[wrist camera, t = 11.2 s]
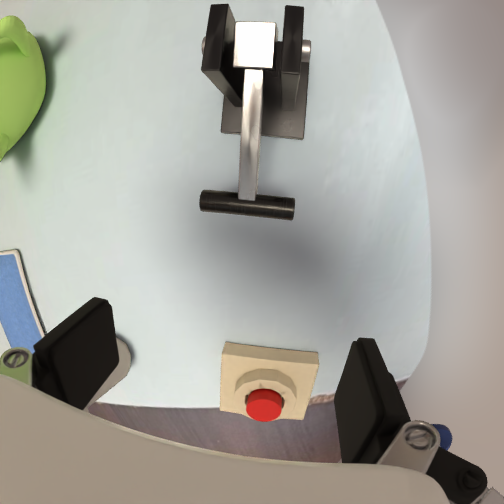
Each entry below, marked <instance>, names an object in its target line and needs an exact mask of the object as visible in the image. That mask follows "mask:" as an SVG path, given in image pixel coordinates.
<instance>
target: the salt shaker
mask: <svg viewBox="0 0 504 504" xmlns="http://www.w3.org/2000/svg"><path fill="white" fill-rule="evenodd" d="M116 340H117V346H118V352H119V364H118V366H117V367H116V368H115V370H114V371H113V372H112V373H111V375H110V376H109V377H108V379H107V380H106V381H105V382H104V384H103V385H102V386H101V388H100V389H99V390H98V392H97V393H96V394H95V395H94V397H93V398H92V399H91V401H90V402H89V403H88V405H87V406H86V407H85V409H84V410H83V411H85V412H87V413H89V411H88V407H89V406H90V405H91V404H93V403H94V402H95V401H96V400H98V399H99V398H100V397H101V396H103V395H104V394H105V393H106V392H107V391H109V390H110V389H111V388H112V387H114V386H115V385H116V384H117V383H118V382H120V381H121V380H122V379H123V378H125V377H126V376H127V374H128V372H129V369H130V365H131V354H130V352H129V349H128V347H127V344H126V343H124V342H123V341H121V340H120V339H118V338H117V337H116Z"/></svg>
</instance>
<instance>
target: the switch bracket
mask: <svg viewBox="0 0 504 504" xmlns="http://www.w3.org/2000/svg"><path fill="white" fill-rule="evenodd" d="M303 22H304V7H300V6H290V5H286V6H285V15H284V28H283V41H282V42H280V41H278V42H277V57H276V70H275V71H265V84H264V99H263V114H262V129H261V136H269V137H280V138H290V139H298V140H303V138H304V128H305V116H306V103H307V89H308V75H309V60H310V51H311V41H310V40H303ZM234 29H235V19H234V17H233V14H232V12H231V9H230V7H229V4H213V5H211V7H210V13H209V19H208V25H207V32H206V37H204V38H203V41H202V54H203V60H202V67H201V71H202V72H203V73H204V74H205V75H206V76H207V77H208V78H209V79H210V80H211V81H212V82H213V84H214V85H215V86H216V87H217V88H218V89H219V90H220V91H221V92H222V93H223V94H224V102H223V112H222V123H221V132H222V133H225V134H241V121H242V101H243V83H244V70H240V69H237V68H235V67H233V66H232V62H233V45H234Z"/></svg>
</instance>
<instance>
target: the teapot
mask: <svg viewBox="0 0 504 504" xmlns="http://www.w3.org/2000/svg"><path fill="white" fill-rule="evenodd" d="M45 89H46V75H45V66H44V61H43V57H42V53H41V50H40V47H39V45H38V43H37V41H36V39H35V37H34V36H33V35H32V34H31V33H30V32H27V30H26V27H25V25H24V23H23V22H22V21H21V20H20V19H19V18H18V17H16V16H7V17H4V18H3V19H1V20H0V162H1V160H2V158H3V156H4V155H5V153H6V152H7V151H8V150H9V149H11V148H12V147H13V146H14V145H15V144H16V142H17V141H18V140H19V139H20V138H21V137H22V136H23V135H24V133H25V132H26V130H27V129H28V127H29V126H30V124H31V123H32V121H33V120H34V118H35V116H36V114H37V113H38V111H39V109H40V107H41V104H42V102H43V99H44V95H45Z"/></svg>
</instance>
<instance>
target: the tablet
mask: <svg viewBox="0 0 504 504" xmlns="http://www.w3.org/2000/svg"><path fill="white" fill-rule="evenodd" d="M0 322H1V324H2V327H3V329H4V332H5V334H6V337H7V339H8V341H9V344H10V346H11V348H15V347H24V348H27V349H28V350H30V352H31V353H32V354H33V353H34V352H35V351H34V348H33V345H34V344H36V343H37V342H38V341H39V340H40V339H42V338H43V337H44V336H45V335H44V333H43V330H42V327H41V325H40V322H39V319H38V317H37V314H36V311H35V308H34V305H33V302H32V299H31V296H30V293H29V290H28V286H27V283H26V279H25V276H24V272H23V268H22V264H21V259H20V255H19V252H18V251H17V250H8V251H2V252H0Z"/></svg>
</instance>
